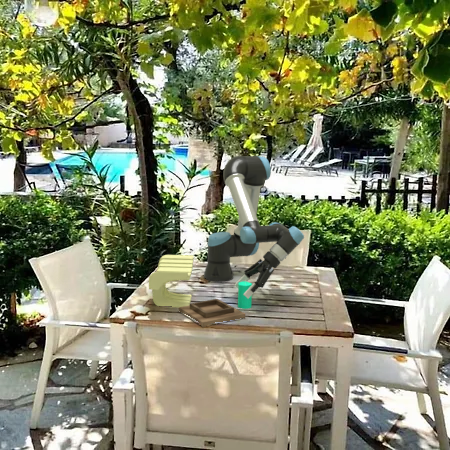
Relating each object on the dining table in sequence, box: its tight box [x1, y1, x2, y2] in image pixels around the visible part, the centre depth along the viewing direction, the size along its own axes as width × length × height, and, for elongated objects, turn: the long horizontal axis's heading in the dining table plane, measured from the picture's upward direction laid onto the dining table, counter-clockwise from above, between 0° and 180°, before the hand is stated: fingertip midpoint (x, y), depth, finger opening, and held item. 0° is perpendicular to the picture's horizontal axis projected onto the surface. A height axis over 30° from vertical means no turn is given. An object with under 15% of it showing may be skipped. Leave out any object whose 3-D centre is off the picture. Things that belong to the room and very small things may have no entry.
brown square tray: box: [178, 298, 246, 328], centre depth 211 cm, size 20×20×4 cm
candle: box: [237, 280, 253, 310], centre depth 222 cm, size 6×6×12 cm
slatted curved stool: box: [148, 254, 195, 308], centre depth 225 cm, size 30×16×18 cm, turn 179°
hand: (240, 291), depth 221 cm, fingers open, 13 cm apart
